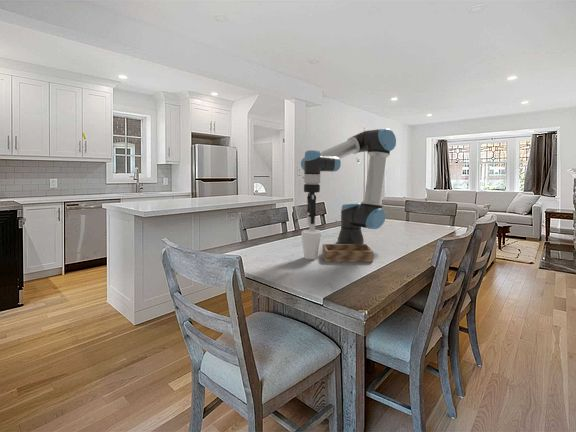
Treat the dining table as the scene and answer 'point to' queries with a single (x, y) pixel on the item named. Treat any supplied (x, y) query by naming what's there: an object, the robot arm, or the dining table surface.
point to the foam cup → (310, 243)
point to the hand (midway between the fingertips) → (310, 228)
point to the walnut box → (347, 253)
